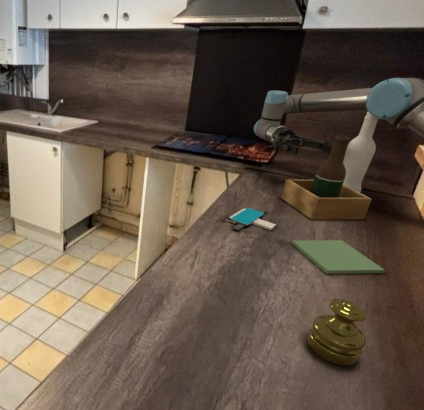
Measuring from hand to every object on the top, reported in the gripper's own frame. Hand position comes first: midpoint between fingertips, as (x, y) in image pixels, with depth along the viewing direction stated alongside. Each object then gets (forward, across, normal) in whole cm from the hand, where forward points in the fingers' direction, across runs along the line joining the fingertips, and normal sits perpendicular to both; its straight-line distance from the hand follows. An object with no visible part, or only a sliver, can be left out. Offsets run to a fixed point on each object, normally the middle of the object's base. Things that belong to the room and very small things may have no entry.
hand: (316, 151), depth 120 cm
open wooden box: (+10, 0, -16) cm, 19 cm away
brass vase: (+69, +39, -16) cm, 80 cm away
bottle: (-1, -17, -17) cm, 24 cm away
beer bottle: (+10, 0, -17) cm, 19 cm away
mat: (+40, +17, -16) cm, 46 cm away
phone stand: (+19, +28, -17) cm, 38 cm away
